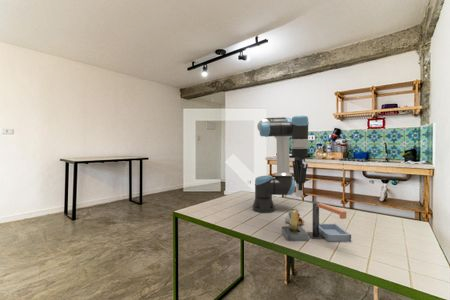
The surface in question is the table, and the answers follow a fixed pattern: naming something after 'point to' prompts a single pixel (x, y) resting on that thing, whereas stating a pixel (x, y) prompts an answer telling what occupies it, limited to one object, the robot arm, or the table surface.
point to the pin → (294, 220)
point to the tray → (334, 233)
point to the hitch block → (294, 234)
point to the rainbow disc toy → (300, 220)
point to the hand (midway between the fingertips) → (299, 196)
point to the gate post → (315, 225)
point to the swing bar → (331, 209)
